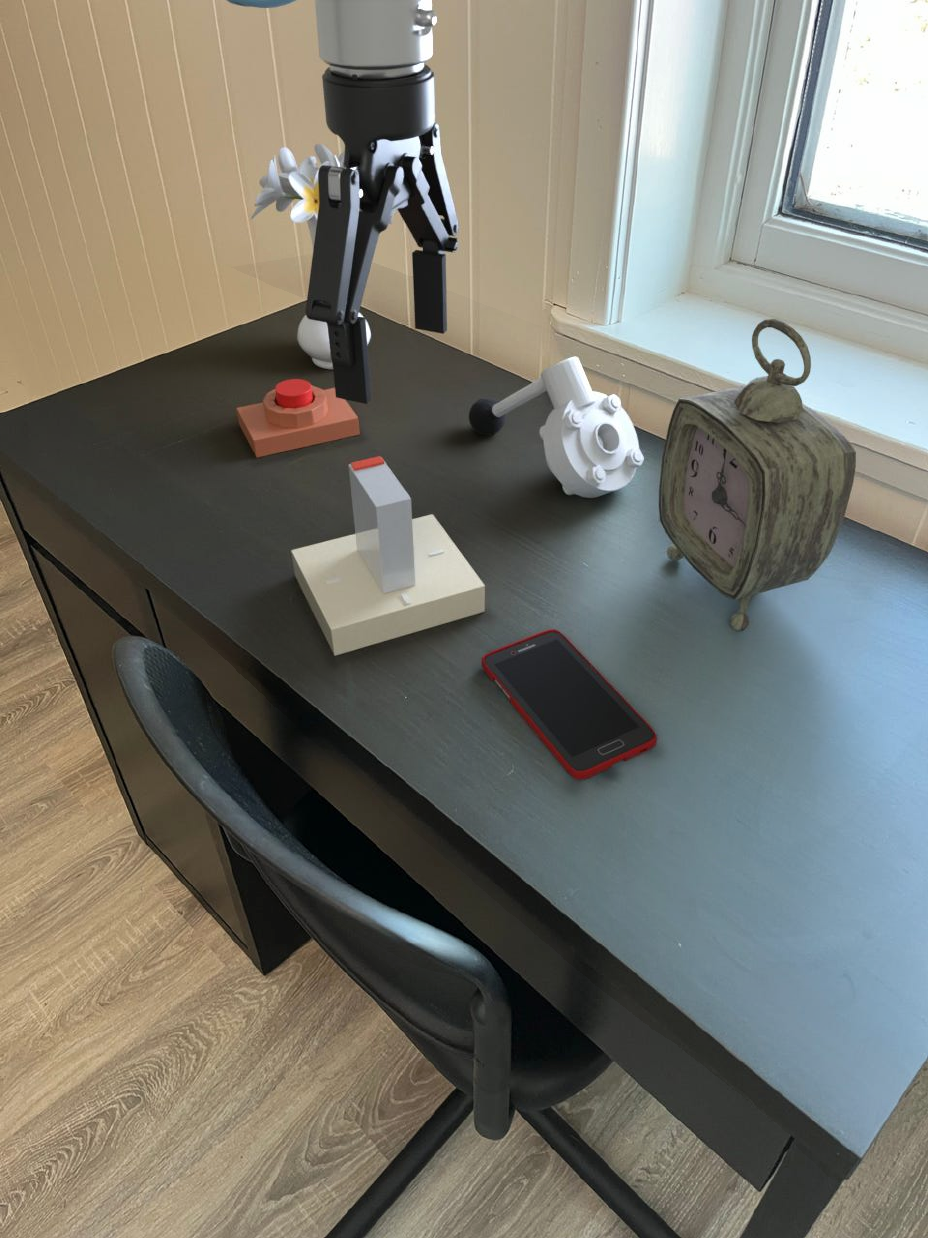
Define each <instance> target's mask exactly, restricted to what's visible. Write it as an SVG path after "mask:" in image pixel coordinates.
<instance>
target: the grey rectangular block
mask: <svg viewBox="0 0 928 1238" xmlns="http://www.w3.org/2000/svg"><path fill="white" fill-rule="evenodd" d="M348 475H349V485H350V495H351V496H350V497H351V504H352V505H351V506H352V513H353V523H354V534H355V535H356V545H357V550H358V552H359V554H360V555H361V557H362V559H363V560H364V562H365V564H366V565H367V567H368V569H369V571H370V572H371V574H372V576H373V577H374V579H375V581H376V582H377V584H378V586H379V587H380V589H381V591H382V592H383V594H385V593H388V592H392V591H396V590H399V589H403V588H406V587H410V586H414V585H416V584H415V565H414V546H413V527H412V519H413V510H412V509H413V507H412V498H411V497H410V495H409V493H408V492H407V491H406V490H405V488H404V487H403V485H402V484H401V482H400V480H398V478H397V476H396V475H395V474H394V472H393V471H392V470H391V468H390V467H389V466H388V464H387V463H386V461H385V460H384V458H383V457H382V456H381V455H378V456H375V457H374V456H373V457H370V458H366V459H361V460H356V461H353V462H350V464H348Z"/></svg>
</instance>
